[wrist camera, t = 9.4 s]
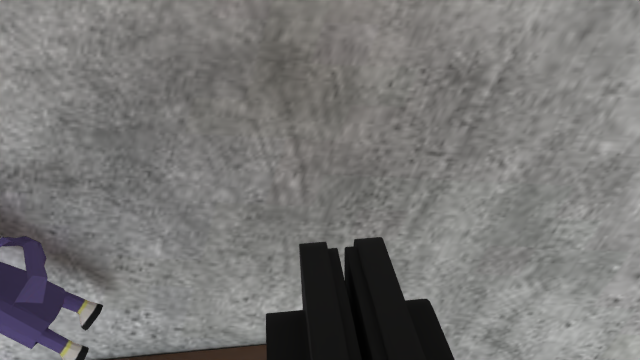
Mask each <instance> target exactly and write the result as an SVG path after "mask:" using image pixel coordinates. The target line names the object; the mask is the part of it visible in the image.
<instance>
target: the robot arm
mask: <svg viewBox="0 0 640 360" xmlns="http://www.w3.org/2000/svg"><path fill="white" fill-rule="evenodd" d="M299 249H300V266H301V284H302V301H303V310H299V311H288V312H278V313H267V314H266V353H267V360H454V357H453V355H452V353H451V350H450V348H449V345H448V343H447V341H446V338H445V336H444V333H443V331H442V329H441V326H440V324H439V321H438V319H437V317H436V314H435V312H434V309H433V307H432V305H431V303H430V301H429V300H427V299H417V300H406V301H405V299H404V297H403V294H402V291H401V288H400V285H399V283H398V280H397V277H396V274H395V271H394V269H393V266H392V263H391V260H390V257H389V255H388V252H387V249H386V246H385V243H384V241H383V239H382V238H381V237H377V238H365V239H355V240H354V247H345V281H344V276H343V272H342V267H341V262H340V258H339V253H338V249H337V248H331V249H328V248H327V243H326V242H317V243H304V244H299Z"/></svg>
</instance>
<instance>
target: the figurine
mask: <svg viewBox="0 0 640 360" xmlns="http://www.w3.org/2000/svg"><path fill="white" fill-rule="evenodd" d="M0 238H1V236H0ZM17 245H20V246H22V247H23V250H24V257H25V264H26V271H25V270H22V269H19V268H16V267H13V266H11V265H8V264H5V263H2V262H0V333H1V334H3V335H5V336H7V337H9V338H11V339H13V340H15V341H17V342H19V343H21V344H23V345H25V346H27V347H28V348H30V349H32V348H33V346H34V345H36V344H37V343H40V344H42V345H44V346H46V347H48V348H50V349H52V350H54V351H56V352H58V353H59V354H60V355H61V356H62V360H84V359H85V357H86V355H87V352H88V350H89V348H88V347H85V346H82V345H79V344H76V343H73V342H72V341H70V340H68V339H66V338H64V337H62V336H61V335H59V334H57V333H55V332H53V331H52V330H50V329H48V327H49V325H50V324H51V323H52V322H53V321H54V320H55V318H56V316H57V315H58V313H59V311H60V309H61V308H62V307H64V308H66V309H69V310H72V311H74V312H77V313H78V314H79V316H80V322H81V327H82V328H83V329H84V330H85V331H86V330H88V328H89V327H90V326H91V325H92V323H93V322H94V321H95V319H96V318H97V317H98V315H99V314H100V312H101V310H102V307H103V305H101V304H97V303H93V302H90V301H87V300H85V299H83V298H80V297H78V296H76V295H73V294H71V293H68V292H66V291H65V290H64V289H63V288H61V287H59V286H57V285H55V284H53V283H51V282H49V281H47V274H46V270H45V267H44V265H45V261H46V256H45V254H44V251H43V248H42V245H41V243H40V242H37V241H35V240H33V239H31V238H29V237H26V236H24V237H18V238H11V237H5V238H4V237H2V238H1V239H0V247H1V246H17Z"/></svg>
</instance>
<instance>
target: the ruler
mask: <svg viewBox="0 0 640 360" xmlns="http://www.w3.org/2000/svg"><path fill="white" fill-rule="evenodd" d="M109 360H267V353H266V345H257V346H246V347H236V348H225V349H215V350H204V351H194V352H183V353H172V354H162V355H151V356H141V357H130V358H120V359H109Z"/></svg>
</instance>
